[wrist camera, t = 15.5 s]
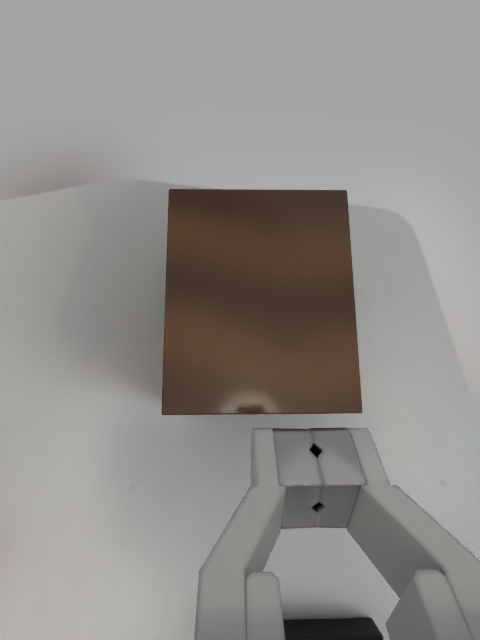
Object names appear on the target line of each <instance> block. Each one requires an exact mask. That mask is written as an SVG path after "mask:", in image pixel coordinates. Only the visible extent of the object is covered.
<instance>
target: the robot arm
mask: <svg viewBox="0 0 480 640" xmlns="http://www.w3.org/2000/svg"><path fill="white" fill-rule="evenodd" d="M312 527H317V528H347V530H348V532H349V533H350V534H351V536H352V537H353V538H354V539H355V541H356V542H357V543H358V545H359V546H360V547H361V549H362V550H363V551H364V552H365V554H366V555H367V556H368V558H369V559H370V560H371V562H372V563H373V564H374V565H375V567H376V568H377V569H378V571H379V572H380V573H381V575H382V576H383V577H384V578H385V580H386V581H387V582H388V584H389V585H390V586H391V588H392V589H393V590H394V591H395V593H396V594H397V595H398V597H399V598H400V600H399V601H398V603H397V605H396V607H395V608H394V610H393V612H392V613H391V615H390V617H389V619H388V620H387V622H386V626H387V630H388V633H389V637H390V640H480V560H479V559H478V558H477V557H475V556H474V555H473V554H472V553H471V552H470V551H469V550H468V549H467V548H465V547H464V546H463V545H462V544H461V543H460V542H459V541H458V540H457V539H456V538H454V537H453V536H452V535H451V534H450V533H449V532H448V531H447V530H446V529H444V528H443V527H442V526H441V525H440V524H439V523H438V522H437V521H436V520H435V519H433V518H432V517H431V516H430V515H429V514H428V513H427V512H426V511H425V510H423V509H422V508H421V507H420V506H419V505H418V504H417V503H416V502H415V501H414V500H412V499H411V498H410V497H409V496H408V495H407V494H406V493H405V492H404V491H402V490H401V489H400V488H399V487H398V486H397V485H390V483H389V480H388V477H387V475H386V472H385V470H384V467H383V465H382V462H381V459H380V457H379V454H378V452H377V449H376V446H375V444H374V441H373V439H372V436H371V434H370V431H369V430H368V429H367V428H309V429H280V428H273V429H272V428H253V429H252V444H251V486H250V488H249V489H248V491H247V493H246V494H245V496H244V498H243V499H242V501H241V503H240V504H239V506H238V508H237V509H236V511H235V513H234V514H233V516H232V518H231V519H230V521H229V523H228V524H227V526H226V527H225V529H224V531H223V532H222V534H221V536H220V537H219V539H218V541H217V542H216V544H215V546H214V547H213V549H212V551H211V552H210V554H209V556H208V557H207V559H206V561H205V562H204V564H203V566H202V567H201V569H200V571H199V582H198V597H197V612H196V626H195V640H285V633H284V623H283V613H282V604H281V594H280V584H279V578H277V577H276V576H275V575H274V574H273V573H272V572H262V571H263V569H264V567H265V565H266V562H267V560H268V558H269V556H270V553H271V551H272V549H273V546H274V544H275V542H276V540H277V537H278V535H279V533H280V529H287V528H312Z"/></svg>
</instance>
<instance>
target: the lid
mask: <svg viewBox="0 0 480 640" xmlns="http://www.w3.org/2000/svg"><path fill="white" fill-rule="evenodd" d="M334 413H362V401H361V386H360V372H359V357H358V343H357V329H356V314H355V300H354V285H353V271H352V257H351V242H350V228H349V214H348V200H347V191H346V190H220V189H169V203H168V233H167V264H166V295H165V325H164V356H163V386H162V415H220V414H334Z"/></svg>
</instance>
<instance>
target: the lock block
mask: <svg viewBox="0 0 480 640" xmlns="http://www.w3.org/2000/svg"><path fill="white" fill-rule="evenodd" d="M283 623H284V633H285V640H383V636H382V634H381V632H380V631H379V629H378V628H377V626H376V625H375V623H374V621H373V620H372V618H346V619H302V620H283Z"/></svg>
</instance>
